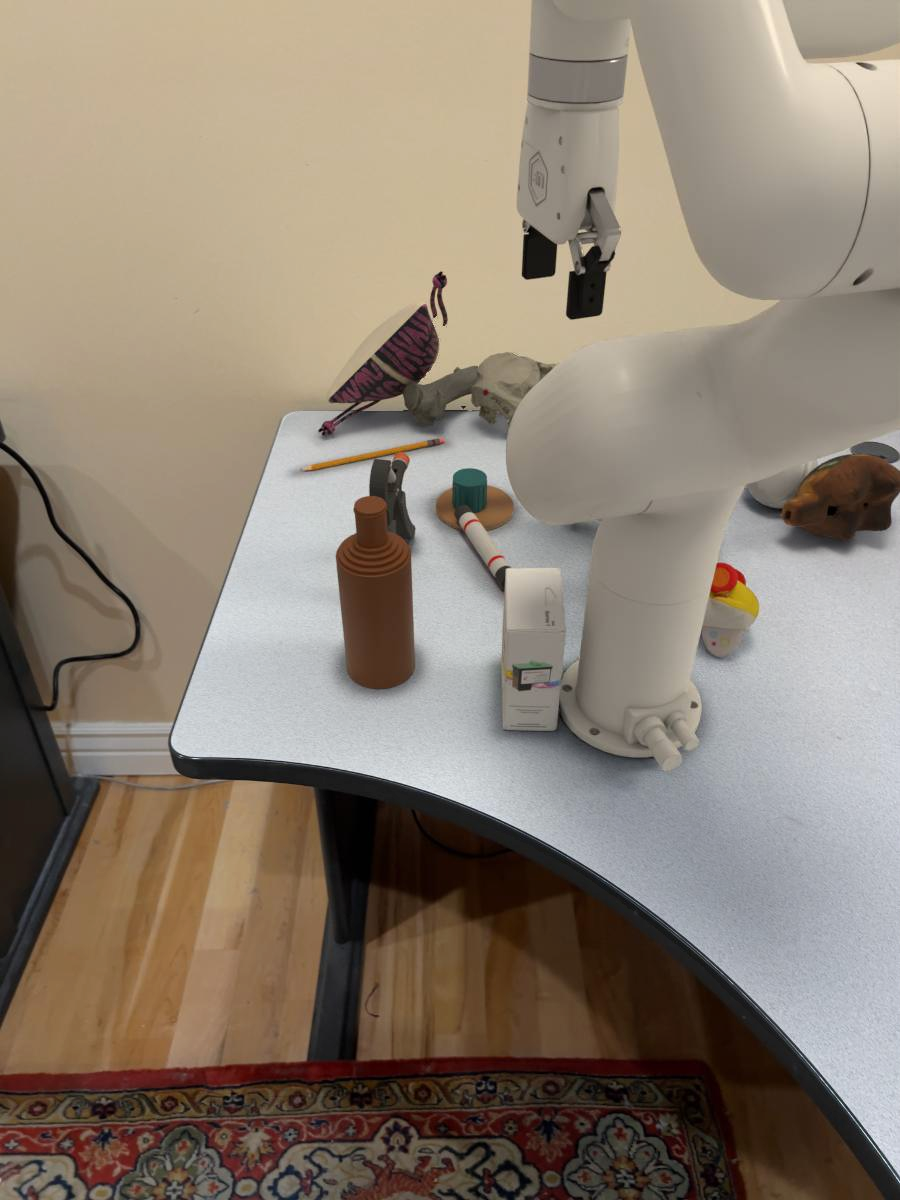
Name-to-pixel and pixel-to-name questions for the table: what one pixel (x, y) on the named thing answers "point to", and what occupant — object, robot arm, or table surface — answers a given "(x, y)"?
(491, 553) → the marker
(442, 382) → the bone
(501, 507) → the coaster
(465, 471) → the cap
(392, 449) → the pencil
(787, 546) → the table surface
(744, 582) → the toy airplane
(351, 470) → the table surface
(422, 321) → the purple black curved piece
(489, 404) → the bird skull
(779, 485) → the bath bomb
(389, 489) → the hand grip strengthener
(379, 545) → the bottle
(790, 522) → the decorative turtle
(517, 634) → the ink box
